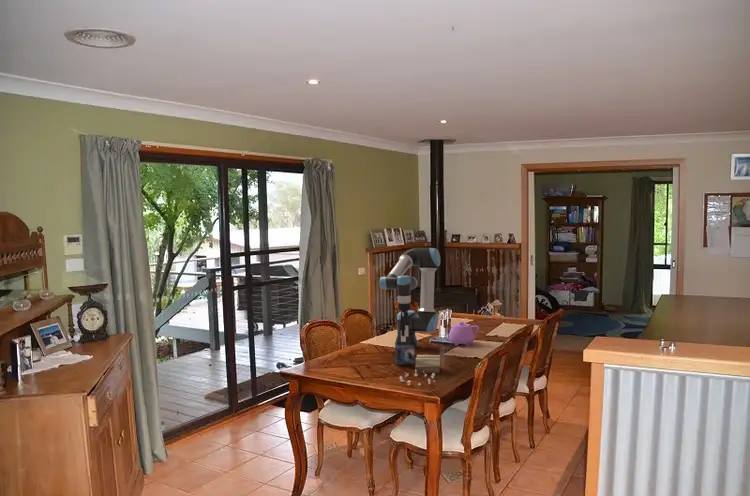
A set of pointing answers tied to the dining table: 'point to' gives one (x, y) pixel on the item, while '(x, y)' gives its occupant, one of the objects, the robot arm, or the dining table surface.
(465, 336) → the teapot
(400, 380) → the game piece set
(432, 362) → the tower top block
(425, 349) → the dining table surface
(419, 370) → the tower base block
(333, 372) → the dining table surface
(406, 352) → the small box
